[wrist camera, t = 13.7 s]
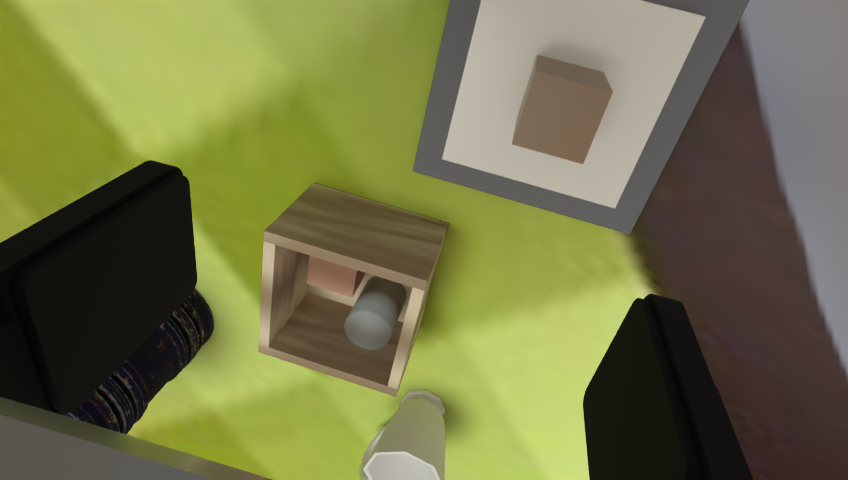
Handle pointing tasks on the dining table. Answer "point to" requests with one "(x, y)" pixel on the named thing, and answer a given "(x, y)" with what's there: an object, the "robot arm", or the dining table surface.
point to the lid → (567, 90)
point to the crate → (347, 285)
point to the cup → (409, 442)
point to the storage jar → (149, 368)
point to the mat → (723, 11)
